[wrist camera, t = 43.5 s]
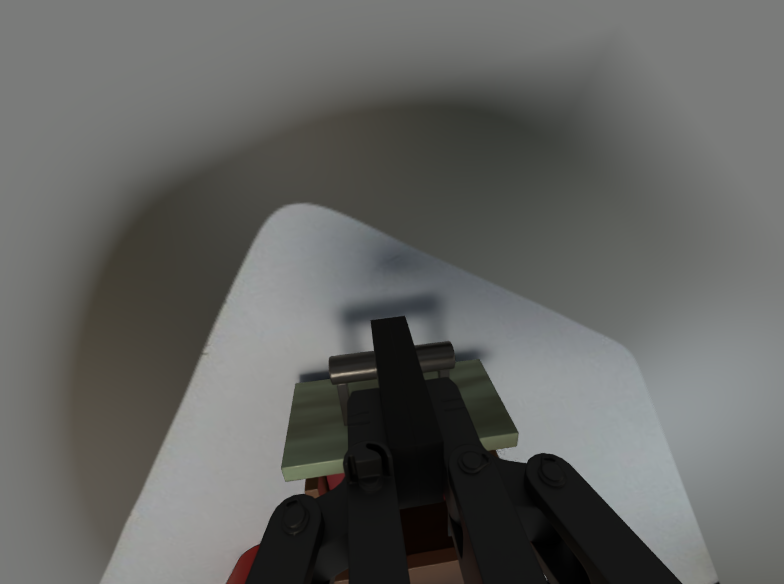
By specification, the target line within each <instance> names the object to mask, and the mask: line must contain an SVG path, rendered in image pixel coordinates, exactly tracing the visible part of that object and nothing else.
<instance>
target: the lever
mask: <svg viewBox="0 0 784 584" xmlns="http://www.w3.org/2000/svg"><path fill="white" fill-rule="evenodd" d="M259 546H260V545H258V546H255V547H253V548H251V549H250V550H248V551H247V552H245V553H244V554H243V555H242V556H241V557H240V558H239V560H238V562H237V564H236V566H235V568H234V570H233V572H232V574H231V576H230V578H229V580H228V582H227V584H245V581H246V579H247V576H248V574H249V571H250V568H251V566H252V563H253V561H254V558H255V556H256V553H257V551H258V548H259Z"/></svg>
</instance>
